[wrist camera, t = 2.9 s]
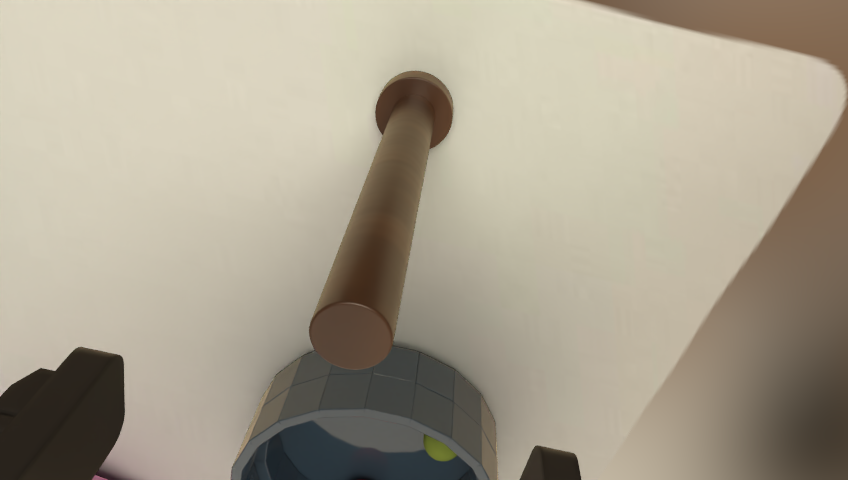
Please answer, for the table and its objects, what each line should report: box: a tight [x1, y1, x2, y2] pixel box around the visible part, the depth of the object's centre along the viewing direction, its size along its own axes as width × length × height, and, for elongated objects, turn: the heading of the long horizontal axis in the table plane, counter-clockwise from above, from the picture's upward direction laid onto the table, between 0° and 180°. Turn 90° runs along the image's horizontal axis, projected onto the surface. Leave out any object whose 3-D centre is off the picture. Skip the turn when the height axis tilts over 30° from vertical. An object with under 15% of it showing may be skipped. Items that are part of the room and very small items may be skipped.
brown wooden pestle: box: [309, 71, 453, 370], centre depth 23 cm, size 4×4×18 cm
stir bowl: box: [231, 346, 498, 480], centre depth 39 cm, size 15×15×6 cm
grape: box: [423, 434, 457, 461], centre depth 39 cm, size 2×2×2 cm
